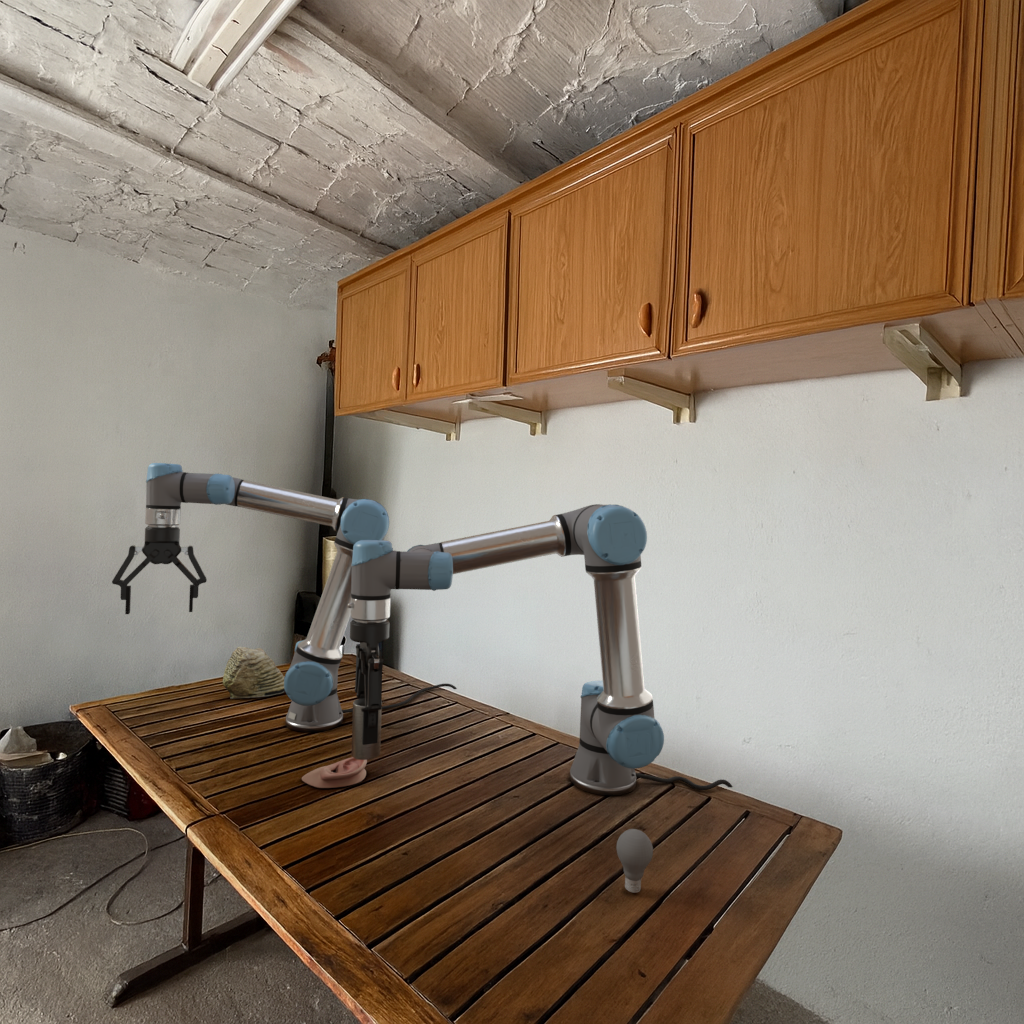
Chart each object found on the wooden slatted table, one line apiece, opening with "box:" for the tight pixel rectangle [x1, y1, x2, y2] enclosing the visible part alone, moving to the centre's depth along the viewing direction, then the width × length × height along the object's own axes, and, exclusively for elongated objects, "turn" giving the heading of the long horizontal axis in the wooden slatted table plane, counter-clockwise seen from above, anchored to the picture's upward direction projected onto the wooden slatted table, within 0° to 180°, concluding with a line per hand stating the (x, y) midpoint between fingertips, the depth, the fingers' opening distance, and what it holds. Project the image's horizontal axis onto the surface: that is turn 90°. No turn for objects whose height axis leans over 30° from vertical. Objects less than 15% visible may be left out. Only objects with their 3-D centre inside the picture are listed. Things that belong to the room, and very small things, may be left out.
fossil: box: [222, 646, 285, 699], centre depth 198 cm, size 9×18×15 cm, turn 132°
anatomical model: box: [301, 756, 368, 789], centre depth 143 cm, size 13×4×12 cm
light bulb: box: [615, 828, 654, 894], centre depth 106 cm, size 6×6×10 cm
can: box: [351, 698, 383, 761], centre depth 124 cm, size 6×6×10 cm
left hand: (159, 612), depth 156 cm, fingers open, 13 cm apart
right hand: (366, 737), depth 124 cm, fingers closed on can, 5 cm apart
